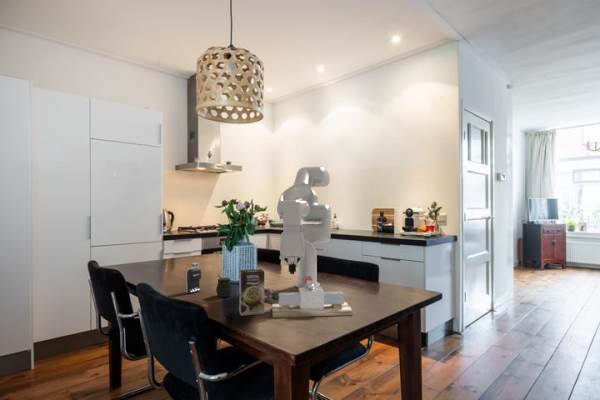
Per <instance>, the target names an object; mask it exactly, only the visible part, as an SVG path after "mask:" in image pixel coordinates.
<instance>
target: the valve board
mask: <svg viewBox="0 0 600 400" xmlns="http://www.w3.org/2000/svg"><path fill="white" fill-rule="evenodd" d="M271 305H272V307H271V309H272V318H274V319H275V318H294V317H295V318H297V317H298V318H300V317H303V318H305V317H330V316H332V317H334V316H354V310H353V309H352V308H351V306H349V304H348V302H346V301H344V304H332V305H324V310H302V311H300V307H299V305H297V306H279V303H272V304H271Z"/></svg>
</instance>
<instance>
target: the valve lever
mask: <svg viewBox="0 0 600 400" xmlns="http://www.w3.org/2000/svg"><path fill="white" fill-rule="evenodd" d="M304 282H305V283H307V285H308V289H314V284H313V283H312V278H311V276H304Z"/></svg>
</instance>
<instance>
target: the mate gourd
mask: <svg viewBox="0 0 600 400" xmlns="http://www.w3.org/2000/svg"><path fill="white" fill-rule="evenodd" d="M217 276H218V278H217V285H216V288H215V291H216V295H217V296H218V297H220V298H228V297H230V296H231V294H232V292H233V287H232V284H231V277H228V276H227V277H221V276H220V274H219V273H217Z"/></svg>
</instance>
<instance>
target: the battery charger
mask: <svg viewBox="0 0 600 400" xmlns="http://www.w3.org/2000/svg"><path fill="white" fill-rule="evenodd" d="M201 279H202V270H201V268H199V267H191V268H188V269H186V270H185V294H195V293H198V292H200V291H201V288H200V287H201V286H200V280H201Z"/></svg>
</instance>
